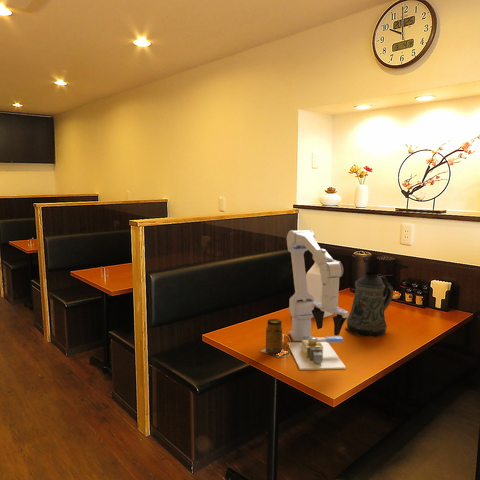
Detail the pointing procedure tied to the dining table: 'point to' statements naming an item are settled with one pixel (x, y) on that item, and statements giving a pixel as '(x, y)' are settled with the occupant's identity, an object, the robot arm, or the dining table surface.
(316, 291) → the milk
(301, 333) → the robot arm
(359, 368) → the dining table surface
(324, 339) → the lever
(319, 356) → the valve
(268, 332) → the condiment
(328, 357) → the board
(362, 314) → the beer stein
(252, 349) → the dining table surface
